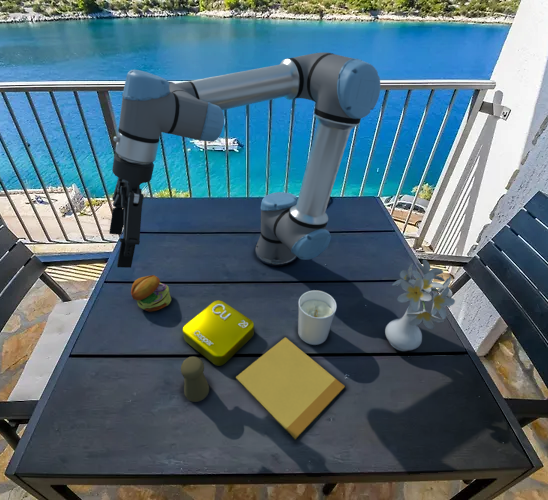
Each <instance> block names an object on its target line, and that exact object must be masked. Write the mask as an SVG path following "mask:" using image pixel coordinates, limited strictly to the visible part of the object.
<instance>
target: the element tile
mask: <svg viewBox="0 0 548 500" xmlns="http://www.w3.org/2000/svg"><path fill="white" fill-rule="evenodd" d="M181 329H182V337H183V339H184V342H185V343H186V344H188V345H189V346H190V347H191V348H193V349H194V350H196V351H197V352H198V353H199V354H200V355H202V356H203V357H205V359H207V360H208V361H209V362H211V363H212V364H213V365H215V366H218V367H221V366H224V365H225V364H226V363H227V362H228V361H230V359H232V357H233V356H234V355H236V353H238V352H239V351H240V350H241V349H242V347H244V346H245V345H246V344H247V343H248V342H249V341H250V340H251V339H252V338H253V337H254V334H255V322H254V321H253V320H252V318H251V319H250V318H249V317H247V316H246V315H244V314H243V313H241V312H240V311H239V310H237V309H236V308H234V307H232V306H231V305H230V304H228V303H226V302H224V301H223V300H219V299H218V300H214V301H212V302H211V303H210V304H209V305H207V306H205V308H203V310H201V311H200V312H199V313H197V314H196V315H195V316H194V317H193V318H191V319H190V320H188V321H187V322H186V323H185V324H184V325H183V326H182V328H181Z"/></svg>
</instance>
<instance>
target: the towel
mask: <svg viewBox="0 0 548 500" xmlns="http://www.w3.org/2000/svg"><path fill="white" fill-rule="evenodd" d="M235 379H236V380H237V381H238V382H239V383H240V385H242V386H243V387H244V388H245V389H246V390H247V391H248V392H249V394H250V395H251V396H253V398H254V399H255V400H256V401H257V402H258V403H259V404H260V405H261V406H262V407H263V408H264V409H265V410H266V411H267V412H268V414H270V416H272V418H274V420H276V422H277V423H278V424H279V425H280V426H281V427H282V428H283V429H284V430H285V431H286V432H287V433H288V434H289V435H290V436H291V437H292V438H293V440H297V438H298V437H300V436H301V434H302V433H303V432H304V431H305V430H307V428H308V427H309V426H310V425H311V424H312V423H313V422H314V421H315V420H316V419H317V417H319V416H320V414H321V413H323V411H324V410H325V409H326V408H327V407H328V406H329V405H330V404H331V403H332V402H333V401H334V400H335V399H336V398H337V396H338V395H339V394H340V393H341V392H342V391H343V390H344V389H345V388H346V386H345V385H344V384H343V383H342V382H340V381H339V380H338V379H337V378H335V376H333V375H332V374H331V373H329V372H328V371H327V370H326V369H324V367H322V366H321V365H320V364H319V363H317V362H316V361H315V360H314V359H313V358H311V357H310V356H309V355H307V354H306V353H305V352H304V351H303V350H302V349H300V348H299V347H298V346H297V345H296V344H294V343H293V342H292V341H291V340H290V339H289V338H287V337H284V338H282V339H281V340H280V341H278V342H277V343H276V344H274V345H273V346H272V347H271V348H270V349H269V350H267V351H266V352H264V353H263V354H262V355H261V356H260V357H258V359H256V360H255V361H253V362H252V363H251V364H250V365H248V366H247V367H246V368H245V369H244V370H242V371H241V372H240V373H239V374H238V375H236V376H235Z"/></svg>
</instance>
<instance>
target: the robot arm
mask: <svg viewBox="0 0 548 500" xmlns="http://www.w3.org/2000/svg"><path fill="white" fill-rule="evenodd" d="M380 94H381V78H380V76H379V73H378V70H377V69H376V67H375V66H373V64H371V63H370V62H366V61H364V60H362V59H360V58H354V57H348V56H344V55H340V54H335V53H331V52H315V53H308V54H303V55H299V56H293V57H288V58H285V59H282V60H281V62H280V64H275V65H270V66H264V67H260V68H259V67H258V68H253V69H247V70H242V71H237V72H231V73H227V74H221V75H216V76H210V77H205V78H198V79H193V80H188V81H181V82H177V83H175V82H173V81H169V80H167V79H166V78H164V77H162V76H160V75H156V74H154V73H150V72H148V71H145V70H144V71H143V70H139V69H131V70H129V71H128V72H127V74H126V77H125V81H124V86H123V90H122V94H121V105H120V106H121V107H120V115H119V123H118V129H117V130H118V131H117V135H118V136H113V141H114V142H115V143H116V144H115V152H116V154H114V156H113V161H112V169H111V170H112V174H113V175H114V176H115V177H117V181H116V184H115V188H114V191H113V194H112V198H111V200H112V212H111V219H110V225H109V226H110V227H109V231H108V232H109V235H118V236H119V235H121V236H122V237H121V238H119V239H118V241H119V242H120V246H119V250H118V251H119V252H118V257H117V262H116V267H117V268H132V265H133V260H134V254H135V250H136V245H138V246H139V245H140V242H141V239H140V238H141V227H142V226H141V225H142V212H143V211H142V210H143V203H144V197H145V196H144V194H143V193H142V192H143V190H142V188H141V185H143V184H147V183H149V182H150V181H152V178H153V174H154V173H153V172H154V168H155V164H154V162H155V161H156V159H157V156H158V155H157V153H158V149H159V144H160V137H161V134H162V133H164V134H168V135H174V136H177V137H182V138H187V139H193V140H197V141H199V142H208V143H209V142H210V143H213V142H214V141H215V142H216V141H217V140H218V139H219V138H220V137H221V134H222V132H223V128H224V125H225V116H224V112H223V111H225V110H226V111H227V110H230V109H235V108H240V107H243V106H249V105H253V104H258V103H263V102H268V101H271V100H276V99H281V98H285V99H286V100H288V101H290V100H295V99H304V100H307V101H308V100H309V101H312V102H315V107H314V112H313V115H314V117H315V119H316V121H317V123H316V128H315V131H314V137H313V139H312V144H311V148H310V151H309V155H308V159H307V162H306V165H305V166H306V167H305V171H304V174H303V178H302V181H301V186H300V190H299V193H298V197H297V196H296V195H295V194H293V193H290V192H286V191H285V192H284V191H278V192H272V193H269V194H267V195H265V196H264V197H263V198H262V200H261V203H260V235H259V238H258V239H257V243H256V245H255V250H254V251H255V256H256V259H257V260H258V261H260V262H261V263H263V264H264V265H267V266H270V267H284V266H285V267H286V266H288V265H290V264H293V263H294V262H295V261H296V260H297V258H298V259H300V260H303V261H308V260H313V259H314V258H317V257H318V256H320V255H321V254H323V252H324V251H326V249H327V248H328V247H329V245H330V243H331V239H332V236H331V234H330V231H329V230H328V229H327V225H328V221H329V216H328V213H327V212H326V211H327V207H328V205H329V204H330V201H331V199H332V196H331V195H332V191H333V188H334V185H335V182H336V178H337V175H338V172H339V170H340V166H341V162H342V159H343V156H344V153H345V149H346V147H347V143H348V140H349V137H350V134H351V131H352V130H353V129H354V128H356V127H357V126H359V125H360V122H361V120H362V119H363V118H365V117H367V116H368V115H370V114H371V111H373V110H374V109H375V107H376V106H377V103H378V101H379V97H380ZM122 234H123V235H122Z"/></svg>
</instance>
